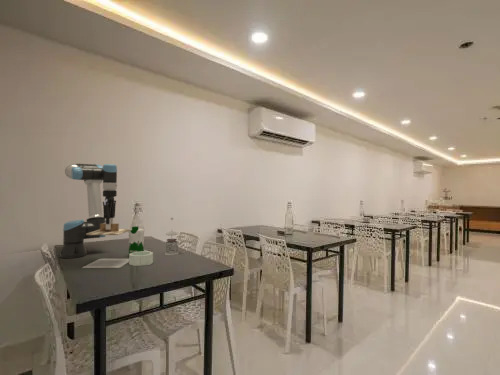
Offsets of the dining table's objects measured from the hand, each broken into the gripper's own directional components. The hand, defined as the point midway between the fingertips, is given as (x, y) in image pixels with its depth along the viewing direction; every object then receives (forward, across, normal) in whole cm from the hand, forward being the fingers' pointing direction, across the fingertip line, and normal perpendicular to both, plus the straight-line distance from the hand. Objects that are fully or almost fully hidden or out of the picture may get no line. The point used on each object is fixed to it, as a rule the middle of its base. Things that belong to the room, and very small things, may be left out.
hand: (109, 229), depth 177 cm
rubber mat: (+21, 0, 0) cm, 21 cm away
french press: (+21, +27, -32) cm, 47 cm away
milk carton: (+21, +18, -10) cm, 29 cm away
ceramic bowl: (+21, 0, -19) cm, 28 cm away
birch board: (+2, 0, 0) cm, 2 cm away
